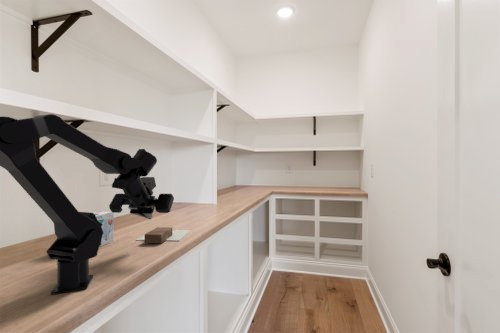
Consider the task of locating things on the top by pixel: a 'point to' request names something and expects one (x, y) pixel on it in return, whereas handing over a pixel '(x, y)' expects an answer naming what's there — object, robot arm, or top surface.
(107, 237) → the light bulb box
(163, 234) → the walnut block
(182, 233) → the mat
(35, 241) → the top surface
